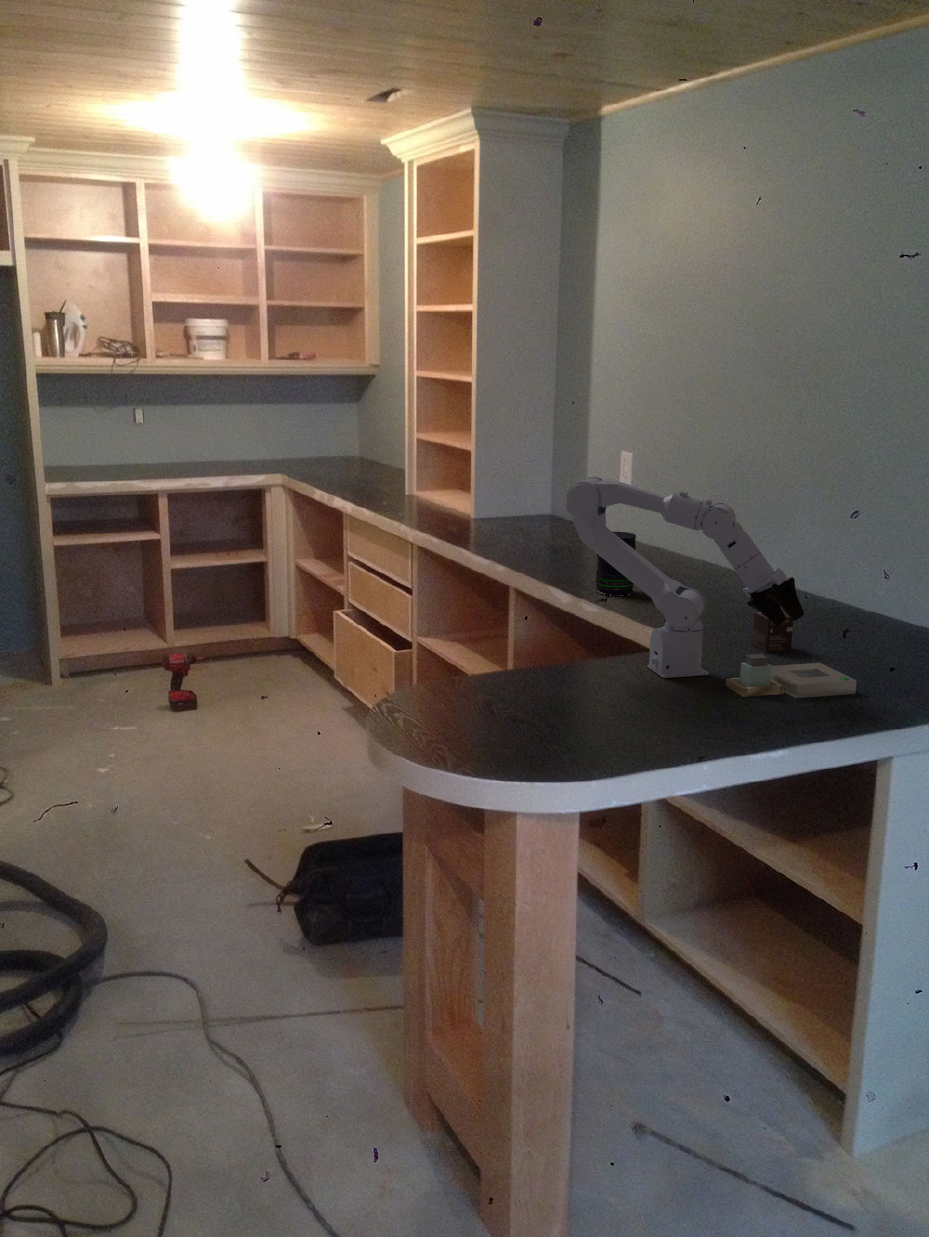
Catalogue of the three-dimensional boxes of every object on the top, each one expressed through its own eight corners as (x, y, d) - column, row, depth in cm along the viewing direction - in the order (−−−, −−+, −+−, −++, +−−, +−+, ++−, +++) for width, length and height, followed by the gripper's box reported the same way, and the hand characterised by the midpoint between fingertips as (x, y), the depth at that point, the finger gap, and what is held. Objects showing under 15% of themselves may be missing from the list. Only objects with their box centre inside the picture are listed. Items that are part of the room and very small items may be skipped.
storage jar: (641, 594, 280) (643, 536, 277) (606, 597, 277) (609, 538, 273) (621, 587, 289) (624, 530, 286) (588, 589, 286) (590, 532, 282)
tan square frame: (742, 696, 199) (743, 688, 198) (725, 686, 205) (726, 678, 204) (783, 694, 200) (784, 686, 200) (765, 683, 207) (765, 675, 206)
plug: (747, 693, 201) (749, 659, 199) (739, 688, 203) (741, 654, 202) (769, 692, 202) (772, 657, 200) (761, 687, 205) (763, 653, 203)
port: (796, 698, 198) (797, 683, 198) (762, 679, 209) (763, 665, 209) (855, 693, 201) (856, 679, 200) (819, 675, 212) (820, 661, 212)
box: (765, 653, 228) (768, 618, 226) (750, 645, 233) (753, 611, 232) (791, 651, 229) (794, 616, 228) (776, 643, 235) (779, 610, 233)
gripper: (779, 540, 198) (824, 602, 198) (748, 556, 213) (789, 613, 212) (750, 562, 197) (795, 624, 197) (720, 576, 211) (762, 634, 211)
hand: (790, 620), depth 204 cm, fingers open, 7 cm apart
